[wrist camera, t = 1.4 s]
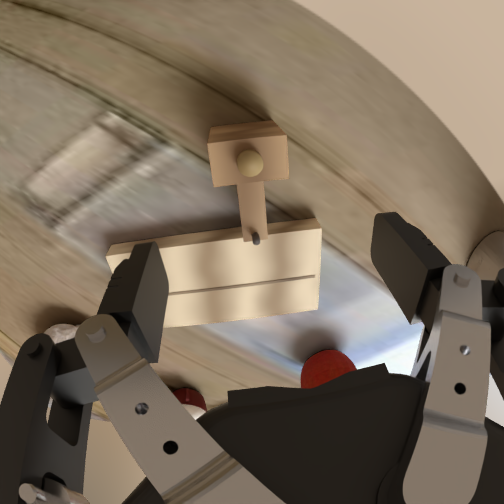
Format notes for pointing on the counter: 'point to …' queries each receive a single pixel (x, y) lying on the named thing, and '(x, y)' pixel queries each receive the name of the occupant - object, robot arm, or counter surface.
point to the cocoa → (191, 401)
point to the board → (237, 272)
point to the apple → (325, 368)
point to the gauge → (249, 168)
